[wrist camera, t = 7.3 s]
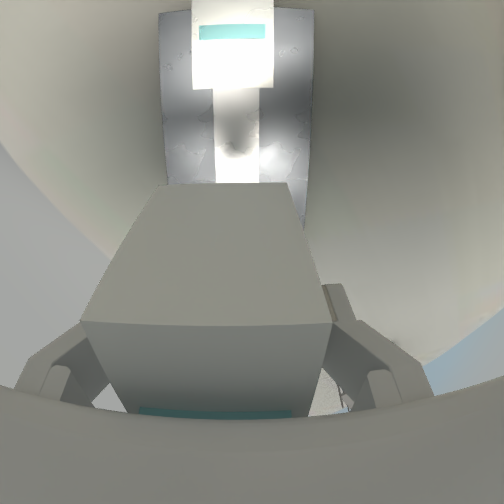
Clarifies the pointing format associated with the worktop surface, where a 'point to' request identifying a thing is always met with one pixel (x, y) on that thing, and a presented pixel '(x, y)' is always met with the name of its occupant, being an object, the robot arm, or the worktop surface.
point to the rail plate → (238, 94)
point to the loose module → (212, 306)
